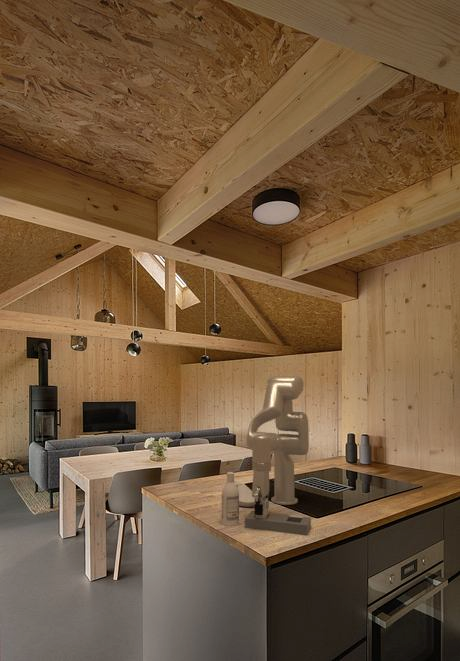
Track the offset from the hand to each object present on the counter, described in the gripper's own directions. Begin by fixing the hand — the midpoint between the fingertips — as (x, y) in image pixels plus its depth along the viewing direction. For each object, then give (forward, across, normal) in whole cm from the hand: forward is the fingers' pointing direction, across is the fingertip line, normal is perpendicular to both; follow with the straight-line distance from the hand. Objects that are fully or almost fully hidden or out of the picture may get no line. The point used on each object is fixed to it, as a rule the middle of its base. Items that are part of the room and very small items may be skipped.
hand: (261, 511), depth 164 cm
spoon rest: (+6, -31, -17) cm, 36 cm away
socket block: (+6, 0, +6) cm, 9 cm away
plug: (+5, 0, 0) cm, 5 cm away
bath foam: (+6, +2, -12) cm, 14 cm away
